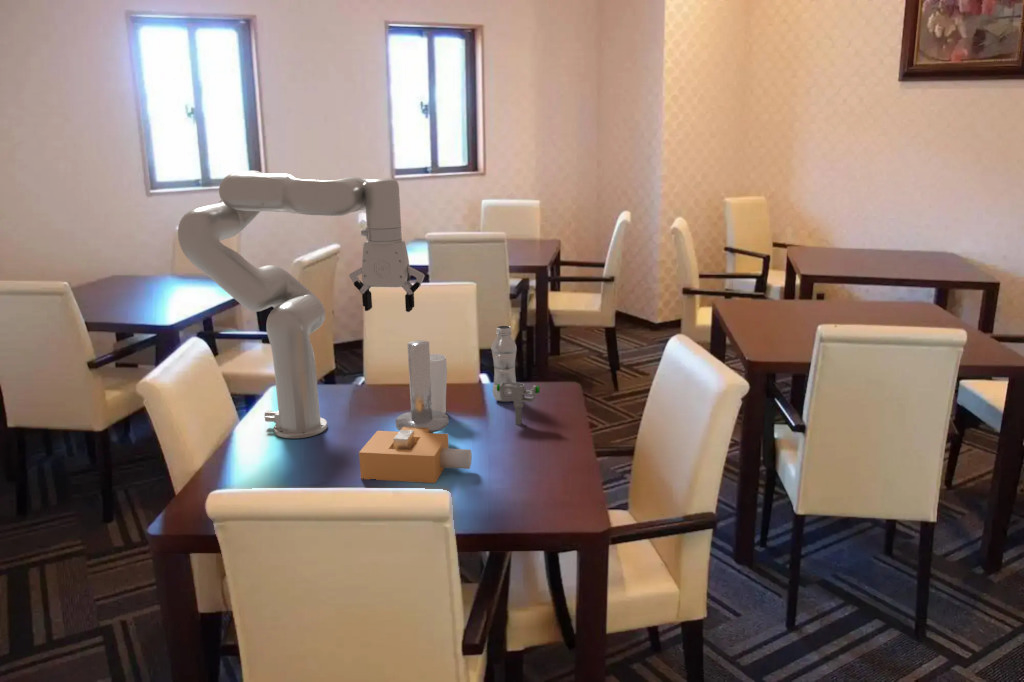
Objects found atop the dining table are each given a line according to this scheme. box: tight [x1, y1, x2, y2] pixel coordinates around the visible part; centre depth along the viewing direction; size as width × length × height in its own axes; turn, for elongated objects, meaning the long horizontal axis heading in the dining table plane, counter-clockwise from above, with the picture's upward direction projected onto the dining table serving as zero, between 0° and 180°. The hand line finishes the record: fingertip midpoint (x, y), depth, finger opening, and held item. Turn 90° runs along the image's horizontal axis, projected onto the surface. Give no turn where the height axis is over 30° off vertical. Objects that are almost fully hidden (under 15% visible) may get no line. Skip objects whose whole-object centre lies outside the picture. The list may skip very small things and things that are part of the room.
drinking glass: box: [430, 353, 448, 414], centre depth 202 cm, size 7×7×15 cm
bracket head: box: [358, 427, 473, 484], centre depth 173 cm, size 22×15×6 cm
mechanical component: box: [497, 382, 541, 426], centre depth 195 cm, size 3×10×10 cm, turn 78°
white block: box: [393, 430, 415, 450], centre depth 171 cm, size 3×5×8 cm, turn 171°
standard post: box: [395, 340, 450, 433], centre depth 182 cm, size 12×12×24 cm
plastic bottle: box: [490, 325, 517, 403], centre depth 210 cm, size 6×7×20 cm
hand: (388, 310), depth 184 cm, fingers open, 9 cm apart
